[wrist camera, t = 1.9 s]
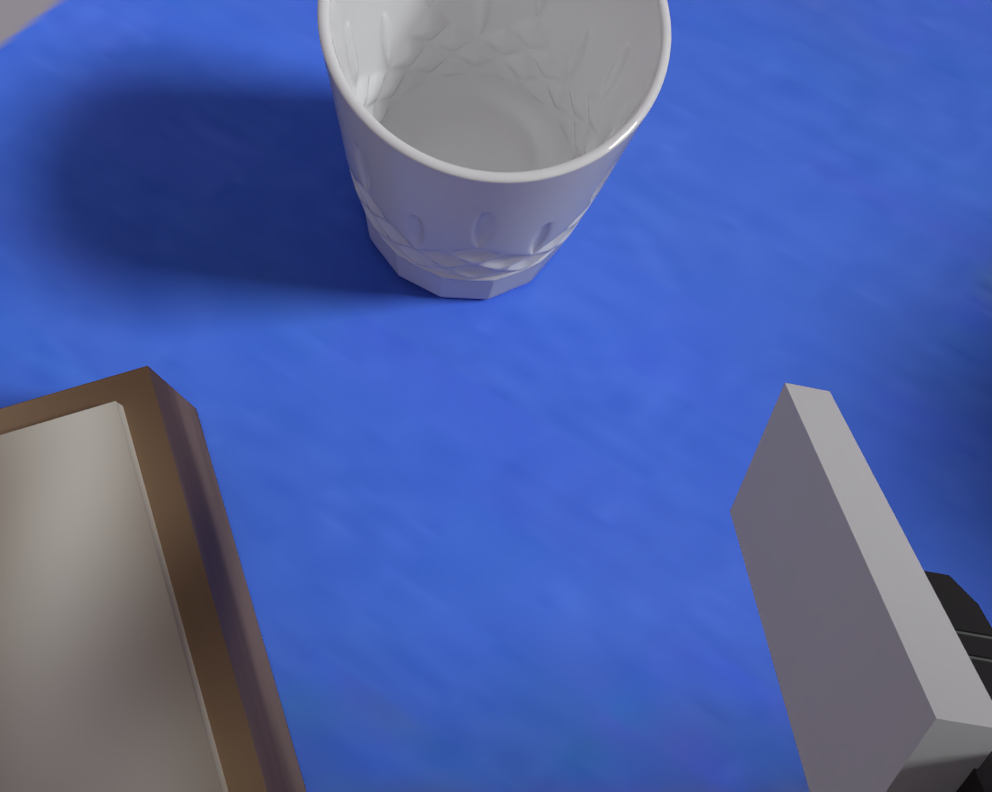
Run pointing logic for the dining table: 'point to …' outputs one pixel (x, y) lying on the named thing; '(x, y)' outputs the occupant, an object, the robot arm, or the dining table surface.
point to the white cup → (486, 124)
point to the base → (127, 605)
